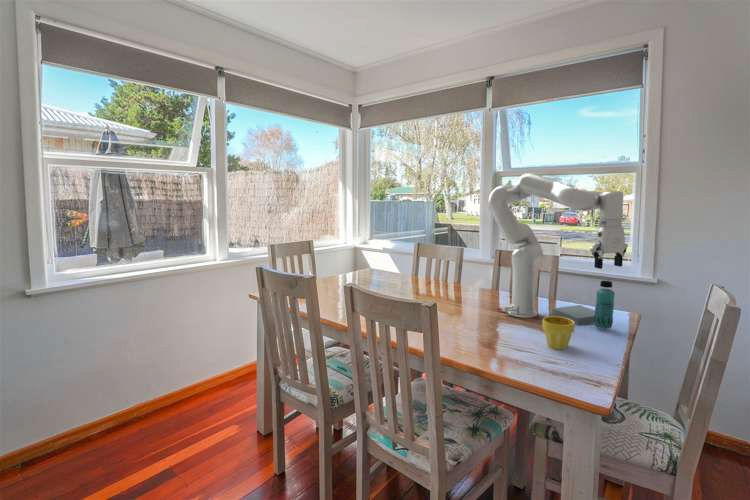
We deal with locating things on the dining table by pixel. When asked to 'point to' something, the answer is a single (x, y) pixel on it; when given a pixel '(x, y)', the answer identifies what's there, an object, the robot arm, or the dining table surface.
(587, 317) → the stand
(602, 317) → the beverage bottle
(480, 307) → the dining table surface
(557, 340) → the plant pot
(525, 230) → the robot arm
